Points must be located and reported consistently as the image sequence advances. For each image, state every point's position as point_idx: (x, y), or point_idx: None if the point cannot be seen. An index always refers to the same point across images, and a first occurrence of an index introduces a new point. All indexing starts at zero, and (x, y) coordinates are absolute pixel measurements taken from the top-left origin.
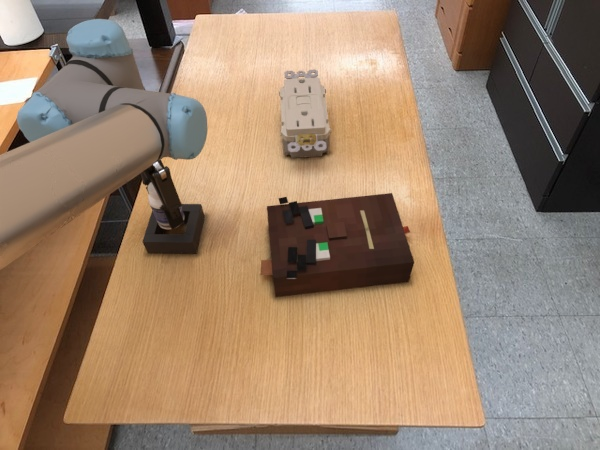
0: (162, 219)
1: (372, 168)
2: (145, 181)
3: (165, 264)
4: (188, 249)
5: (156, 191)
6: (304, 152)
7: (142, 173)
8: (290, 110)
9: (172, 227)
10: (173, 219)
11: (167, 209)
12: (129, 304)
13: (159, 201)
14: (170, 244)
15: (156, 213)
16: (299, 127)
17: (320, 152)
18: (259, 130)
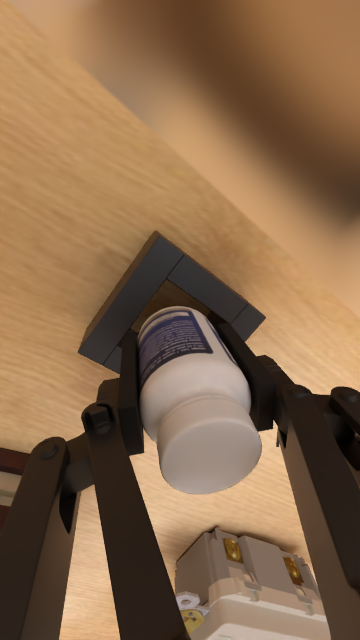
0: (149, 340)
1: (107, 600)
2: (288, 416)
3: (96, 254)
4: (91, 325)
5: (130, 502)
6: (193, 559)
7: (313, 486)
8: (263, 637)
9: (123, 343)
10: (102, 382)
11: (44, 453)
12: (4, 99)
13: (164, 404)
14: (112, 299)
15: (164, 344)
16: (212, 637)
17: (178, 572)
18: (296, 511)
